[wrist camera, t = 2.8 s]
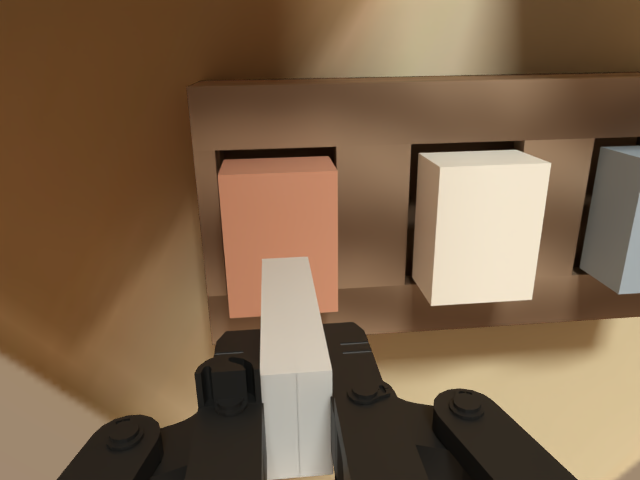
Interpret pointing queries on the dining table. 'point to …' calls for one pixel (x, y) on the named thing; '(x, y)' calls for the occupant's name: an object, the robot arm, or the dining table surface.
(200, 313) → the dining table surface
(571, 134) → the key console
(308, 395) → the robot arm
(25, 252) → the dining table surface
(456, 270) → the ivory key
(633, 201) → the slate key
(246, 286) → the terracotta key
